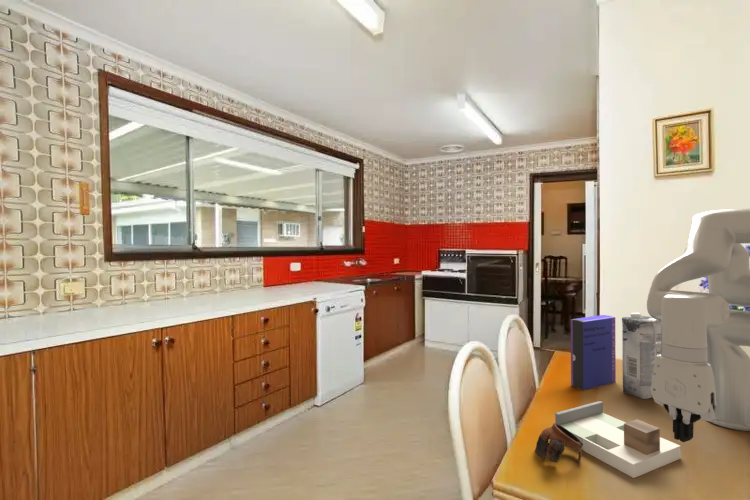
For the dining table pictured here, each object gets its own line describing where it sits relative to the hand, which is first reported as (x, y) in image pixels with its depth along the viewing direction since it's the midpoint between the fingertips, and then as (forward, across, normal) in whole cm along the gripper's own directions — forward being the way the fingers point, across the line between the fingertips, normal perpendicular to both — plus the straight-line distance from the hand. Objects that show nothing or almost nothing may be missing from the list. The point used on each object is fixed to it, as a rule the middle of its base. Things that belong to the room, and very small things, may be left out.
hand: (682, 439), depth 79 cm
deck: (+9, -15, +1) cm, 18 cm away
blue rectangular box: (+8, -45, +35) cm, 58 cm away
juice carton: (+8, -32, +41) cm, 53 cm away
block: (+6, -9, +1) cm, 11 cm away
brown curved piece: (+10, -18, -16) cm, 26 cm away
